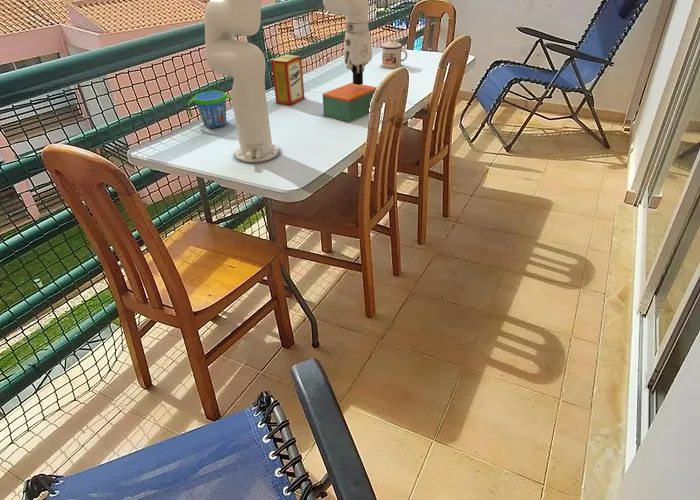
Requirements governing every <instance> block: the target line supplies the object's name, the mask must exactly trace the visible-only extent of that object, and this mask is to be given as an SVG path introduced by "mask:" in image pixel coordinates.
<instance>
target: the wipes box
mask: <svg viewBox="0 0 700 500" xmlns="http://www.w3.org/2000/svg"><path fill="white" fill-rule="evenodd" d="M374 92H375V91H373V92H371V93H369V94H366V95H364V96H361V97H359V98H356V99H354V100H352V101H349V102H347V101H342V100H338V99H334V98H329V97H325V96H323V95H322V106H323V107H322V108H323V116H325V117H329V118H333V119H336V120H341V121H344V122H348V123H350V122H352V121H354V120H356V119H359V118H361V117H363V116H365V115H367V114H369V113H370V112H369V108H370V102H371V99H372V97H373V94H374Z"/></svg>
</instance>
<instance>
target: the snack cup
mask: <svg viewBox="0 0 700 500" xmlns="http://www.w3.org/2000/svg"><path fill="white" fill-rule="evenodd" d="M227 99H229V100H231V101H232V97H231V95H229V94H227V93H225V92H224V91H222V90H206V91H201V92H200V93H197V94H195V95H194V96H193V97H192V98H191V99H190V100H189V102H188V106H187V110H188V114H189V116H190V118H191V119H192V118H193V113H192V110H191V104H193V102H194V104H195V106H196V108H197V109H198V113H199V115H200V118H201V121H202V122H203V125H204V126H205V127H206V128H209V129H210V128H211V129H212V128H213V129H214V128H221V127H222V126H224V125H226V124H227V104H226V101H227Z"/></svg>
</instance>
